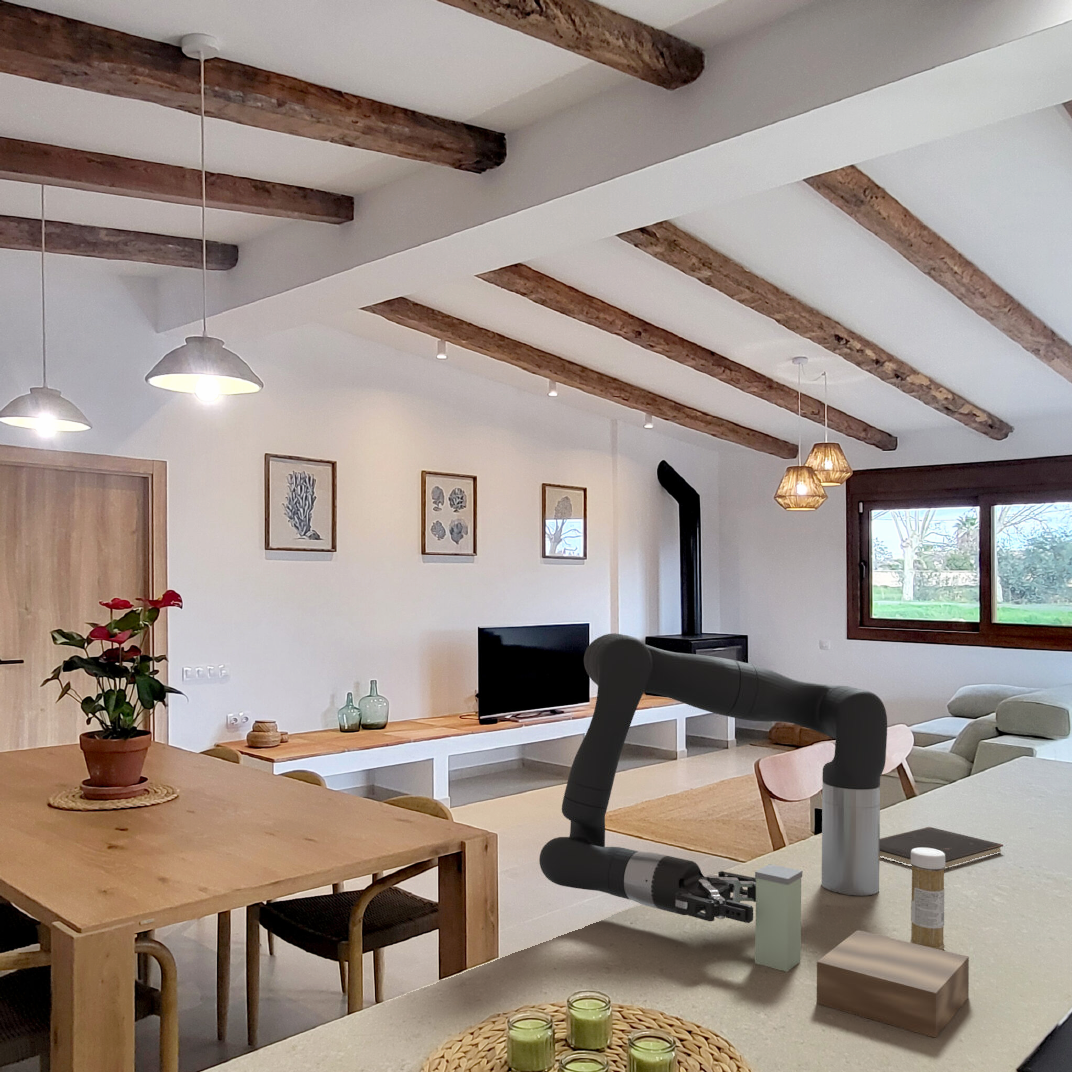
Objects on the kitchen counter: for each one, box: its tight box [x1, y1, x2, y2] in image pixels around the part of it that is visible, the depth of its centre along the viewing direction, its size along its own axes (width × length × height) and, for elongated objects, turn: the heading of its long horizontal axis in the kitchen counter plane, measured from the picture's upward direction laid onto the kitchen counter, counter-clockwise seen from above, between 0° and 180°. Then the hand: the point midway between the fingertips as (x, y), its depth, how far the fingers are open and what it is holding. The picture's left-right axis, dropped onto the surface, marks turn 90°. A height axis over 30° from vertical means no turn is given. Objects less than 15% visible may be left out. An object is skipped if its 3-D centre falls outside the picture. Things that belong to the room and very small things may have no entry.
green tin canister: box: [754, 863, 803, 972], centre depth 134 cm, size 5×5×12 cm
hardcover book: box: [880, 826, 1004, 868], centre depth 188 cm, size 16×23×2 cm
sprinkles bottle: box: [910, 848, 946, 951], centre depth 141 cm, size 5×5×14 cm
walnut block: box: [816, 929, 970, 1039], centre depth 123 cm, size 14×14×5 cm
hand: (766, 906), depth 135 cm, fingers open, 8 cm apart
